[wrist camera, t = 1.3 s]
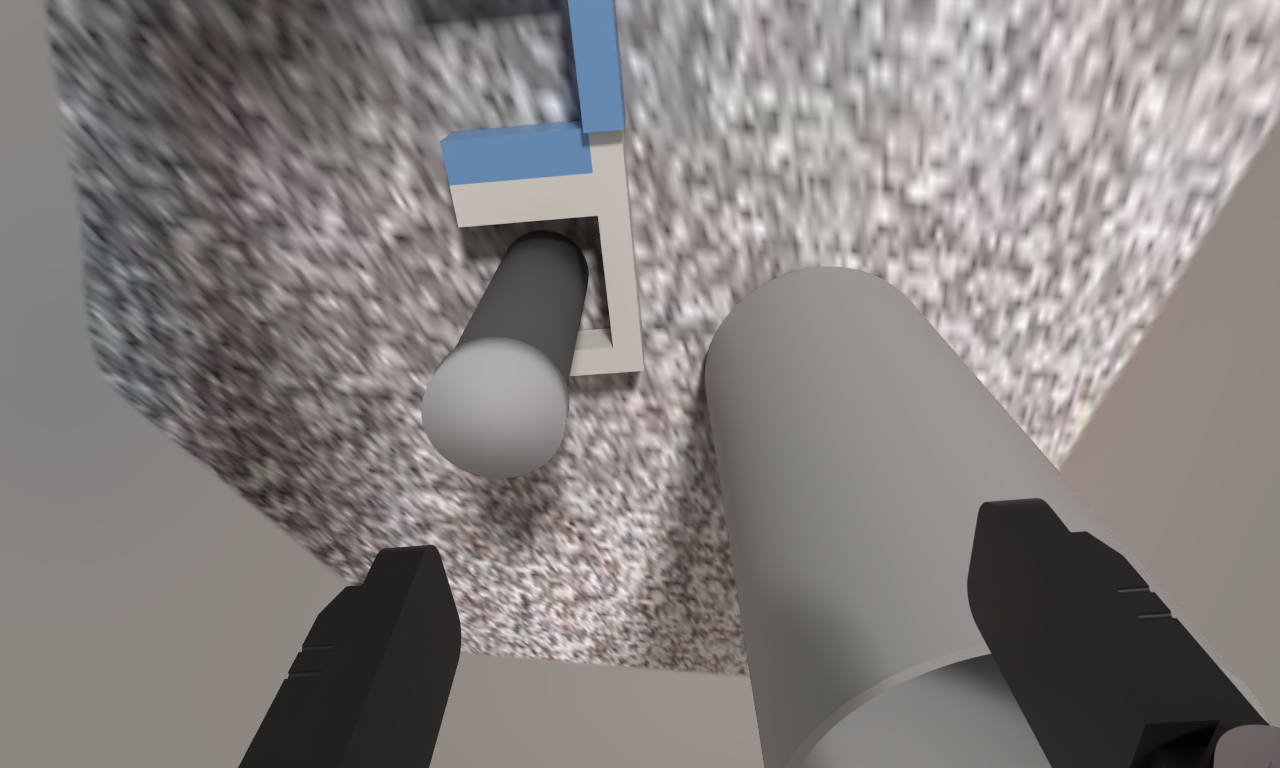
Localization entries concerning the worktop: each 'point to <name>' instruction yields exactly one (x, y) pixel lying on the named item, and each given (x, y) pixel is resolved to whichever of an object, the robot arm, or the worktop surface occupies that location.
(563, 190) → the blue grey comb bracket
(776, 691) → the cylinder vase
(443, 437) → the grey capped cylinder
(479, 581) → the worktop surface
